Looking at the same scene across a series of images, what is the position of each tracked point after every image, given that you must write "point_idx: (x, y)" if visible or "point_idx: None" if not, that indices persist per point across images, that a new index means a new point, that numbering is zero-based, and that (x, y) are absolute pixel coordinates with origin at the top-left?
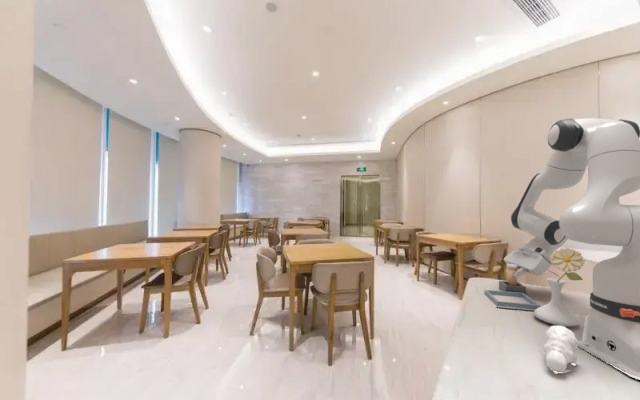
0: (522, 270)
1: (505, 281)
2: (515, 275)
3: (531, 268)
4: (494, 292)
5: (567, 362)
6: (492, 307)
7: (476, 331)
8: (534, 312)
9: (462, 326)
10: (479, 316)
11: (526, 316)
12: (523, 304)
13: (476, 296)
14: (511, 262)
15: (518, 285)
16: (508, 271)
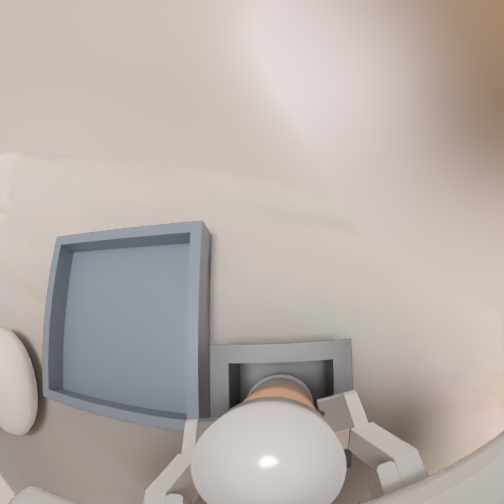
0: (150, 496)
1: (343, 383)
2: (189, 429)
3: (26, 492)
4: (191, 272)
5: None
6: None
7: (3, 179)
8: (9, 332)
9: (18, 158)
10: (38, 188)
11: (31, 319)
12: (45, 333)
13: (192, 198)
14: (409, 489)
15: None
16: (253, 397)
